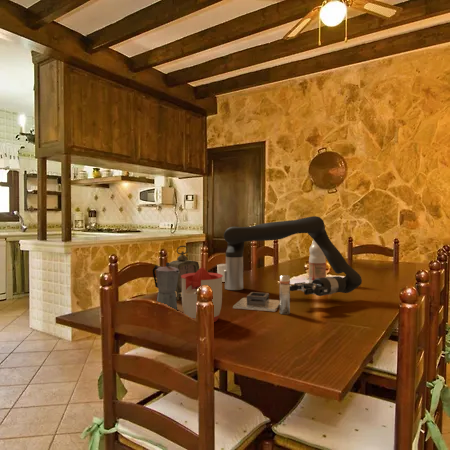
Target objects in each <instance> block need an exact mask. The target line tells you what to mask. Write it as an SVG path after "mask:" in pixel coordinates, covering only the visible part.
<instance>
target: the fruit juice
mask: <svg viewBox="0 0 450 450" xmlns="http://www.w3.org/2000/svg"><path fill="white" fill-rule="evenodd" d="M308 249H309V250H308V251H309V258H308V283H312V282H313V280H314V279H316V278H324V277H327V273H326V272H327V259H326V257H325V255H324V253H323V252H322V250H321V249H320V247H319V246H318V244H317V243H316V242H315V241H314V240H313V239H312V243H311V245H310V246H309V248H308Z"/></svg>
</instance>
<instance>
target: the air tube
mask: <svg viewBox="0 0 450 450" xmlns="http://www.w3.org/2000/svg"><path fill="white" fill-rule="evenodd" d="M290 286H291V275H288V274H286V275H285V274H282V275H279V300H280V306H279V314H280V315H285V316H286V315H287V316H288V315H290V314H291V308H290V307H291V295H290V294H291V291H290Z"/></svg>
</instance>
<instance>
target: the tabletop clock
mask: <svg viewBox="0 0 450 450" xmlns="http://www.w3.org/2000/svg"><path fill="white" fill-rule="evenodd" d="M180 248H186V251H185V252H184V251H183V250H182V251H181V252H178V251H179V249H180ZM188 252H189V247H188V246H187V245H180V246H178V247H177V249H176V253H177V254H178V255H179V256H177V259H175V260H173V261H169V262H168V263H169V266H170V267H175V268H178V269H179V272H180V273H179V275H178V282H177V287H176V291H175V292H176V301H179V300H180V298H182V278H181V276H182V275H183V274H188V273H196V272H197V271H198V270H199V269H200V264H199V262H198V261H196V260H191V259H190V260H188V259H189V258H188V256H187V255H186V254H187V253H188Z"/></svg>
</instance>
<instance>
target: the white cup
mask: <svg viewBox="0 0 450 450" xmlns="http://www.w3.org/2000/svg"><path fill="white" fill-rule="evenodd" d="M216 267H217V269H216V270H217V271H216V273H218V274H221V275H223V277H222V282H225V271H226V263H220V264H217V265H216Z"/></svg>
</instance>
